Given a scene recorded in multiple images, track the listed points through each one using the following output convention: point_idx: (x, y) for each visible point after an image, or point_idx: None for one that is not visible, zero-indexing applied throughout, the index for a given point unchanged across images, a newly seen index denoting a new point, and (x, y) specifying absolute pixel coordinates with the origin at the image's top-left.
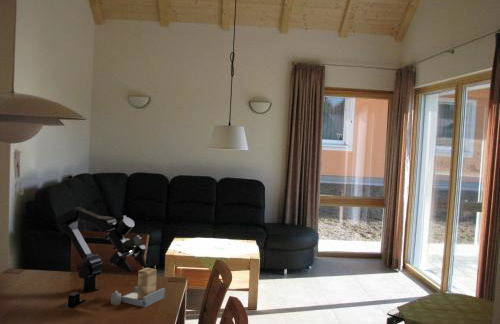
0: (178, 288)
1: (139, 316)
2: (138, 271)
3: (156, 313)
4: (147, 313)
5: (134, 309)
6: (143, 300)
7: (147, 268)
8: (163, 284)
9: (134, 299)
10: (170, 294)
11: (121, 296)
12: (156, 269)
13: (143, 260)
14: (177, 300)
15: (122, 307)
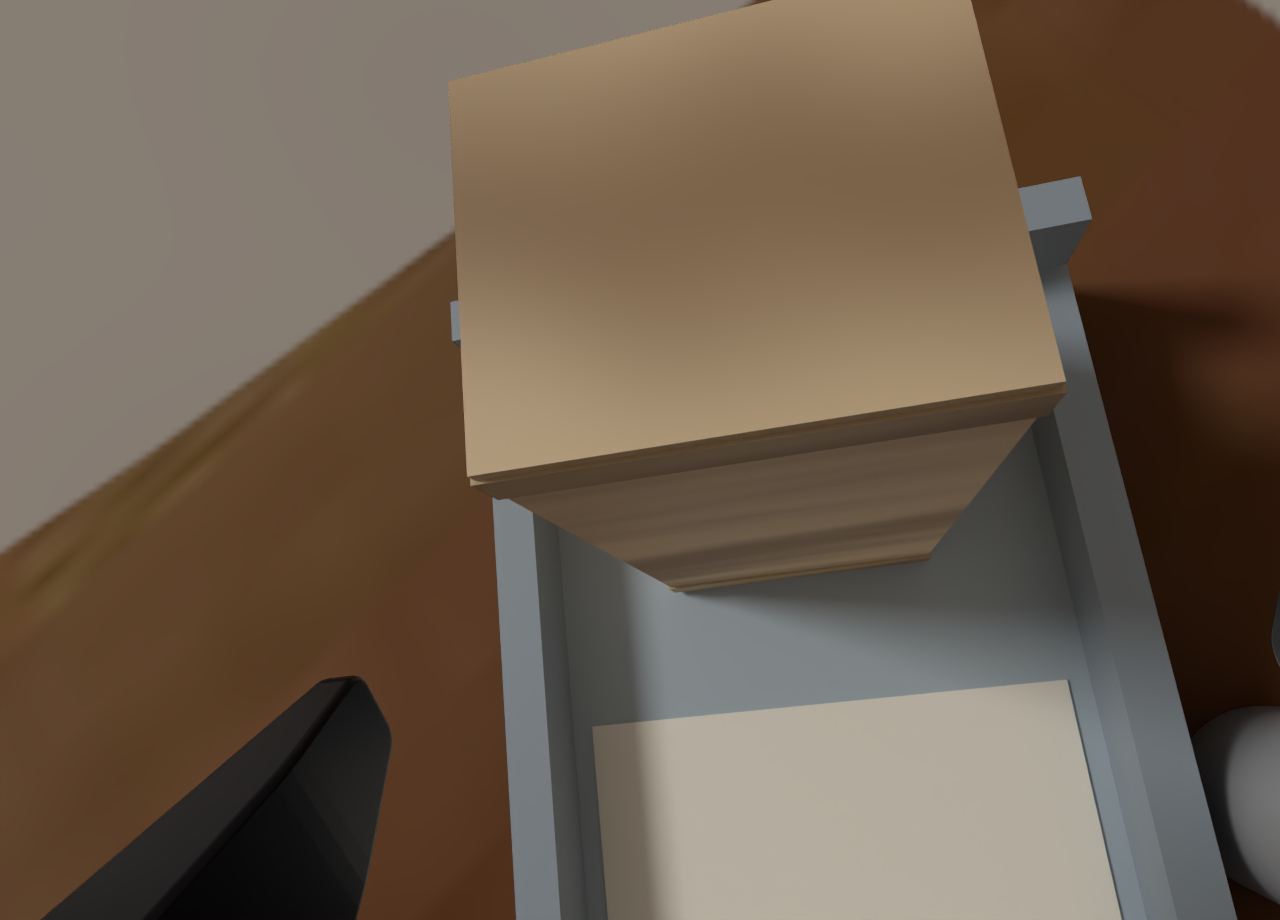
0: (61, 565)
1: (1265, 150)
2: (1062, 378)
3: (994, 80)
4: (1090, 159)
5: (1129, 414)
6: (1070, 240)
7: (552, 382)
8: (4, 893)
9: (1100, 463)
10: (312, 474)
11: (1187, 814)
12: (455, 82)
13: (146, 905)
14: (448, 237)
15: (1228, 639)
